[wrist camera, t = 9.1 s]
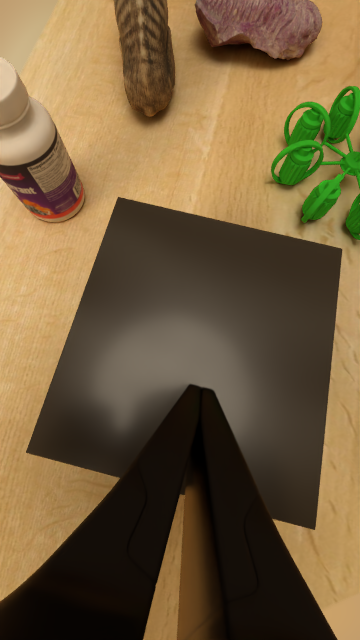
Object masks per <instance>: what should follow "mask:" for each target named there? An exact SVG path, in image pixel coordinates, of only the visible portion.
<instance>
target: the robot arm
mask: <svg viewBox="0 0 360 640" xmlns="http://www.w3.org/2000/svg"><path fill="white" fill-rule="evenodd" d="M185 472H186V482H185V500H184V518H183V537H182V555H181V573H180V591H179V609H178V628H177V640H337V638H336V636H335V634H334V633H333V631H332V629H331V627H330V626H329V624H328V622H327V620H326V618H325V617H324V615H323V613H322V611H321V609H320V607H319V606H318V604H317V602H316V600H315V598H314V597H313V595H312V593H311V591H310V589H309V588H308V586H307V584H306V582H305V580H304V579H303V577H302V575H301V573H300V571H299V569H298V568H297V566H296V564H295V562H294V560H293V559H292V557H291V555H290V553H289V551H288V549H287V547H286V545H285V543H284V542H283V540H282V538H281V536H280V534H279V532H278V530H277V528H276V526H275V524H274V522H273V520H272V517H271V515H270V513H269V511H268V509H267V507H266V505H265V502H264V500H263V498H262V496H261V494H259V489H258V487H257V485H256V482H255V480H254V478H253V476H252V474H251V471H250V469H249V467H248V465H247V463H246V460H245V458H244V456H243V454H242V451H241V449H240V447H239V445H238V443H237V440H236V438H235V436H234V434H233V431H232V429H231V427H230V425H229V423H228V420H227V418H226V416H225V414H224V411H223V409H222V407H221V405H220V403H219V400H218V398H217V396H216V394H215V391H214V390H213V389H210V388H206V387H202V388H201V387H200V386H198V385H194V384H189V385H188V386H187V388H186V389H185V391H184V392H183V393H182V395H181V396H180V397H179V399H178V400H177V402H176V403H175V404H174V406H173V407H172V408H171V410H170V411H169V413H168V414H167V415H166V417H165V418H164V419H163V421H162V422H161V424H160V425H159V426H158V428H157V429H156V430H155V432H154V433H153V435H152V436H151V437H150V439H149V440H148V442H147V443H146V444H145V446H144V447H143V448H142V450H141V451H140V453H139V454H138V455H137V457H136V458H135V461H133V462H132V463H131V465H130V466H129V467H128V469H127V470H126V472H125V473H124V474H123V475H122V477H121V478H120V479H119V481H118V482H117V483H116V484H115V486H114V487H113V488H112V490H111V491H110V492H109V493H108V494H107V495H106V496H105V498H104V499H103V500H102V501H101V502H100V503H99V504H98V506H97V507H96V508H95V509H94V510H93V511H92V512H91V513H90V514H89V515H88V516H87V518H86V519H85V520H84V521H83V522H82V523H81V524H80V525H79V526H78V527H77V528H76V529H75V531H74V532H73V533H72V534H71V535H70V536H69V537H68V538H67V539H66V540H65V541H64V542H63V544H62V545H61V546H60V547H59V548H58V549H57V550H56V551H55V552H54V553H53V554H52V555H51V556H50V557H49V558H48V559H47V560H46V562H45V563H44V564H43V565H42V566H41V567H40V568H39V569H38V570H37V571H36V572H35V573H33V574H32V575H31V576H30V577H29V578H28V579H27V580H26V581H25V582H24V583H23V584H21V585H20V586H19V587H18V588H17V589H16V590H15V591H13V592H12V593H11V594H9V595H8V596H7V597H6V598H4V599H3V600H2V601H0V640H143V638H144V633H145V629H146V624H147V620H148V616H149V612H150V608H151V604H152V600H153V596H154V592H155V588H156V586H155V585H156V583H157V580H158V576H159V573H160V569H161V565H162V561H163V557H164V553H165V549H166V545H167V542H168V538H169V534H170V530H171V526H172V522H173V518H174V514H175V511H176V507H177V503H178V499H179V495H180V491H181V487H182V484H183V480H184V476H185Z"/></svg>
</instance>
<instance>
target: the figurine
mask: <svg viewBox="0 0 360 640" xmlns="http://www.w3.org/2000/svg"><path fill="white" fill-rule="evenodd" d="M114 7H115V15H116V21H117V25H118V30H119V44H120V49H121V55H122V59H123V73H124V85H125V91H126V94H127V98H128V100H129V103H130V105H131V106H132V107H133V108H134V109H135V110H137V111H139V112H142V113H143V114H145V115H146V116H148V117H151V116H154V115H155V114H156V113H157V112H158V111H160V110H163V109H164V108H165V107H166V106H167V105H168V103H169V100H170V97H171V93H172V89H173V88H174V85H175V62H174V55H173V49H172V42H171V31H170V28H169V26H168V7H167V0H114Z"/></svg>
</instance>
